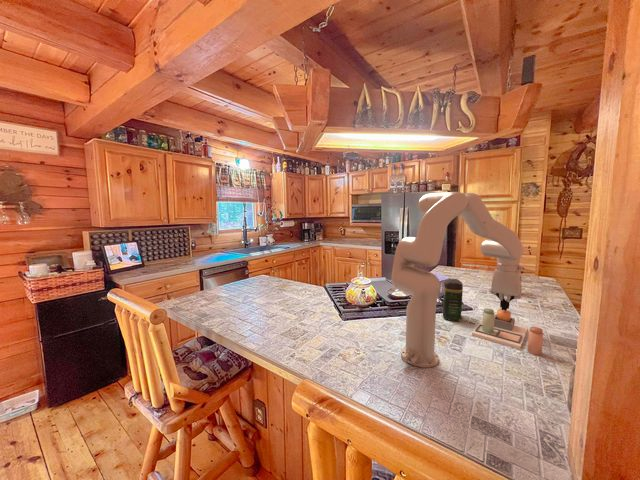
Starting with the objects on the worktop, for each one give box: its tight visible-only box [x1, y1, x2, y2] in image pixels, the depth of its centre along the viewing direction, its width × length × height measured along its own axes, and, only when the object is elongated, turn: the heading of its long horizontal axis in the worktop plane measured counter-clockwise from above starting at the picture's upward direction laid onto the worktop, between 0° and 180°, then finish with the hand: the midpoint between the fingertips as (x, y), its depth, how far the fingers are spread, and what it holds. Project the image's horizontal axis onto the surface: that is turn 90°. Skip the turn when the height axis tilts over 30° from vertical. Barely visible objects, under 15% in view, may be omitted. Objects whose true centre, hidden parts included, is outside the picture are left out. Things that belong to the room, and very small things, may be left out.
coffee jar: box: [442, 277, 464, 322], centre depth 125 cm, size 10×8×19 cm
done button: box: [496, 308, 512, 322], centre depth 113 cm, size 5×5×4 cm
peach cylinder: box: [527, 326, 544, 356], centre depth 95 cm, size 4×4×9 cm
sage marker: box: [482, 307, 495, 333], centre depth 109 cm, size 4×4×9 cm
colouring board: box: [471, 313, 529, 350], centre depth 110 cm, size 20×16×4 cm
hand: (504, 309), depth 113 cm, fingers closed
